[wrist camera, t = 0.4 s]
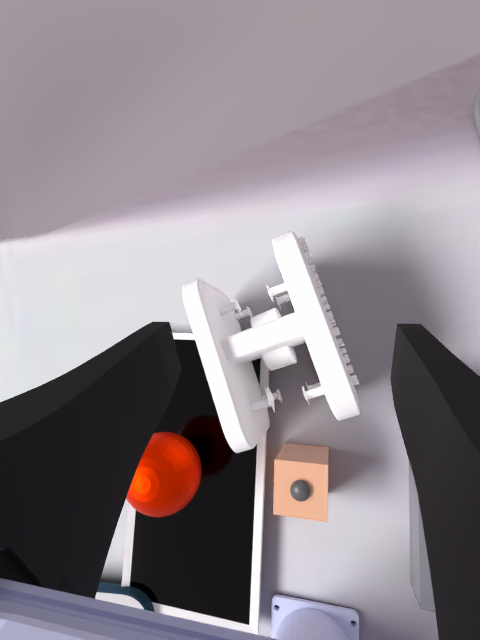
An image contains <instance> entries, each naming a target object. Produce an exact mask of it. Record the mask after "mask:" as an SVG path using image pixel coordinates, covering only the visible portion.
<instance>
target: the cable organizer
mask: <svg viewBox="0 0 480 640" xmlns="http://www.w3.org/2000/svg"><path fill="white" fill-rule="evenodd" d="M273 248H274V252H275V256H276V259H277V263H278V266H279V268H280V271H281V274H282V277H283V280H284V282H285V283H282V284H280V285H277V286H275V287H272V288H268V286H267V290H268V294H269V296H270V298H271V299H272V301H273V296H274V295H275V297H276V294H279V293H282V292H284V291H288V294H286V295H284V296H281V297H278V298H277V297H276V301H277V304H278V306H279V307H280V306H281V305H280V304H282V303H285V302H287V301H290V300H291V302H292V305H293V308H294V310H295V312H294V313H291V314H288V315H286V316H283V317H281V315H280V313H279V311H278V310H277V309H276V308H273V309H270V310H268V311H266V312H263V313H261V314H259V315H256V316H254V317H252V316H253V315H252V312H251V310H250V308H248V307H247V306H246V307H247V309H246V310H243V311H242V310H241V308H240V306H239V303H238V301H237V300H235V299H234V298H233V299H234V302H233V303H231V301H230V299H229V297H228V296H227V295H226V294H225V293H224V292H222V291H220V290H219V289H217V288H215V287H213V286H212V285H210V284H208V283H207V282H205V281H203V280H202V279H196V280H193V281H191V282H188V283H186V284H184V285H183V288H182V294H183V301H184V305H185V308H186V312H187V315H188V318H189V321H190V325H191V328H192V331H193V335H194V338H195V341H196V344H197V348H198V351H199V354H200V357H201V361H202V364H203V367H204V371H205V374H206V377H207V380H208V384H209V387H210V390H211V393H212V397H213V400H214V403H215V407H216V410H217V413H218V416H219V420H220V423H221V426H222V429H223V432H224V435H225V437H226V440H227V442H228V444H229V446H230V447H231V449H232V450H233V451H234V452H235V453H239V452H243V451H246V450H250V449H253V448H254V447H255V446H256V444H257V443H258V442H259V440H260V439H261V438H262V436H263V435H264V434H265V433H266V431H267V430H268V429H269V426H270V420H269V414H268V410H267V408H268V407H271V406H272V408H273V411H274V413H275V407H274V400H276V399H278V400H280V401H281V403H282V399H281V398H282V396H281V394H280V392H279V389H278V391H277V390H276V391H277V392H274V393H271V391H270V389H269V388H268V386H267V389H266V388H265V387H264V388H265V391H266V393H267V395H265V396H263V395H262V392H261V389H260V385H259V382H258V379H257V376H256V373H255V370H254V367H253V364H252V361H253V360H256V359H259V358H263V360H264V362H265V364H266V366H267V367H268V368H269V369H270V370H271V371H273V370H276V369H279V368H282V367H285V366H288V365H291V364H294V363H297V357H296V353H295V350H294V346H297V345H300V344H303V343H306V344H307V347H308V349H309V352H310V355H311V358H312V361H313V363H314V366H315V369H316V372H317V375H318V377H319V380H320V382H318V383H315V384H312V385H309V386H308V383H306V387H307V390H308V391H305V389H304V386H303V387H302V389H303V394H304V397H305V399H306V400H307V402H308V399H311V398H314V397H318V396H321V395H324V394H325V396H326V399H327V401H328V404H329V406H330V408H331V410H332V412H333V414H334V416H335V417H336V418H337V420H339V421H340V420H343V419H347V418H350V417H354V416H357V415H360V405H359V401H358V397H357V393H356V390H355V387H354V385H358V384H359V382H358V379H357V377H356V374H355V375H352V376H350V374H351V373H354V369H353V367H352V365H351V364H350V365H346V363H349V362H350V359H349V356H348V354H345V355H342V354H344V353H347V350H346V348H345V347H344V348H341V349H340V347H341V346H344V345H345V344H344V343H343V340H342V338H339V339H337V337H336V336H339V335H340V331H339V329H338V327H336V328H333V327H334V326H336V325H337V324H336V322H335V319H334V316H333V314H332V311H328V312H326V310H328V309H331V308H330V305H329V303H328V300H327V298H326V295H325V296H323V297H321V296H322V295H324V294H325V293H324V290H323V287H322V284H321V282H320V280H319V276H318V274H317V273H316V268H315V266H314V264H312V265H310V264H309V263H310V262H312V258H311V254H310V252H309V251H308V247H307V244H306V242H305V239H304V237H301V238H297V236H296V235H295V233H294V232H293V231H290V232H287V233H285V234H282V235H280V236H277V237H275V238H273ZM313 273H314V274H313ZM266 285H267V284H266ZM273 303H274V302H273ZM327 303H328V304H327ZM237 309H238V311H239V312H238V313H236V312H235V310H237ZM280 309H281V307H280ZM240 311H241V312H240ZM249 315H250V317H251V326H252V328H249V329H247V330H244V331H242V330H241V327H240V324H239V321H238V319H241V318H244V317H246V316H249ZM306 382H307V380H306ZM308 404H309V402H308Z"/></svg>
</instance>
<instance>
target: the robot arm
mask: <svg viewBox="0 0 480 640" xmlns="http://www.w3.org/2000/svg"><path fill="white" fill-rule="evenodd" d="M181 370H182V369H181V365H180V361H179V357H178V353H177V350H176V346H175V342H174V338H173V334H172V331H171V327H170V323H169V322H152V323H150V324H148V325H146V326H144V327H142V328H141V329H139V330H137V331H136V332H134V333H132V334H131V335H129V336H128V337H126V338H124V339H123V340H121V341H120V342H118V343H117V344H115V345H113V346H112V347H110V348H109V349H107V350H105V351H104V352H102V353H101V354H99V355H97V356H95V357H94V358H92V359H90V360H89V361H87V362H85V363H83V364H82V365H80V366H78V367H77V368H75V369H73V370H71V371H69V372H67V373H65V374H64V375H62V376H60V377H58V378H56V379H54V380H51V381H49V382H47V383H45V384H43V385H41V386H39V387H37V388H34V389H32V390H29V391H27V392H25V393H22V394H20V395H17V396H15V397H13V398H10V399H8V400H5V401H3V402H0V640H359V614H358V612H357V611H356V610H354V609H349V608H344V607H339V606H334V605H329V604H324V603H319V602H314V601H309V600H304V599H299V598H294V597H289V596H284V595H279V594H275V595H274V596H273V598H272V612H271V638H270V637H266V636H261V635H257V634H252V633H248V632H243V631H239V630H234V629H230V628H225V627H220V626H216V625H211V624H207V623H202V622H198V621H193V620H189V619H184V618H179V617H175V616H170V615H166V614H161V613H157V612H152V611H148V610H143V609H139V608H134V607H129V606H125V605H120V604H116V603H111V602H107V601H102V600H98V599H95V597H96V593H97V589H98V586H99V582H100V579H101V575H102V572H103V568H104V565H105V561H106V557H107V554H108V551H109V548H110V545H111V541H112V538H113V535H114V532H115V529H116V526H117V522H118V519H119V516H120V514H121V511H122V508H123V505H124V502H125V499H126V497H127V494H128V491H129V488H130V486H131V483H132V480H133V478H134V475H135V473H136V470H137V467H138V465H139V462H140V460H141V458H142V456H143V453H144V451H145V449H146V447H147V445H148V443H149V441H150V439H151V437H152V435H153V434H154V432H155V430H156V428H157V426H158V424H159V422H160V420H161V418H162V416H163V414H164V412H165V410H166V408H167V406H168V404H169V402H170V400H171V398H172V396H173V394H174V391H175V388H176V385H177V382H178V379H179V376H180V373H181ZM391 385H392V393H393V400H394V407H395V411H396V415H397V418H398V422H399V426H400V429H401V433H402V437H403V440H404V444H405V447H406V451H407V455H408V458H409V462H410V465H411V469H412V472H413V476H414V480H415V485H416V489H417V494H418V499H419V505H420V511H421V517H422V523H423V529H424V536H425V542H426V549H427V555H428V562H429V568H430V575H431V583H432V590H433V597H434V604H435V611H436V619H437V627H438V635H439V640H480V376H478V375H477V374H476V373H475V372H474V371H472V370H471V369H470V368H469V367H467V366H466V365H465V364H464V363H463V362H462V361H460V360H459V359H458V358H457V357H456V356H455V355H454V354H452V353H451V352H450V351H449V350H448V349H447V348H446V347H445V346H444V345H442V344H441V343H440V342H439V341H438V340H437V339H436V338H435V337H434V336H433V335H432V334H431V333H430V332H429V331H428V330H426V329H425V328H424V327H423V326H422V325H421V324H397V331H396V339H395V347H394V355H393V363H392V371H391ZM275 605H278V606H279V608H276V607H275ZM351 621H355V622H356V623H355V624H352V623H351Z"/></svg>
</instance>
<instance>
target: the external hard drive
mask: <svg viewBox="0 0 480 640" xmlns="http://www.w3.org/2000/svg"><path fill="white" fill-rule="evenodd" d="M95 599H98V600H102V601H107V602H111V603H116V604H120V605H125V606H129V607H134V608H139V609H143V610H148V611H152V612H154V607H153V604H152V602H151V600H150V598H149V597H148V596H147V595H146V594H145V593H144V592H143V591H141V590H140V589H137V588H135V587H130V586H123V587H121V584H117V583H105V582H99V586H98V589H97V593H96V597H95Z"/></svg>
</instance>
